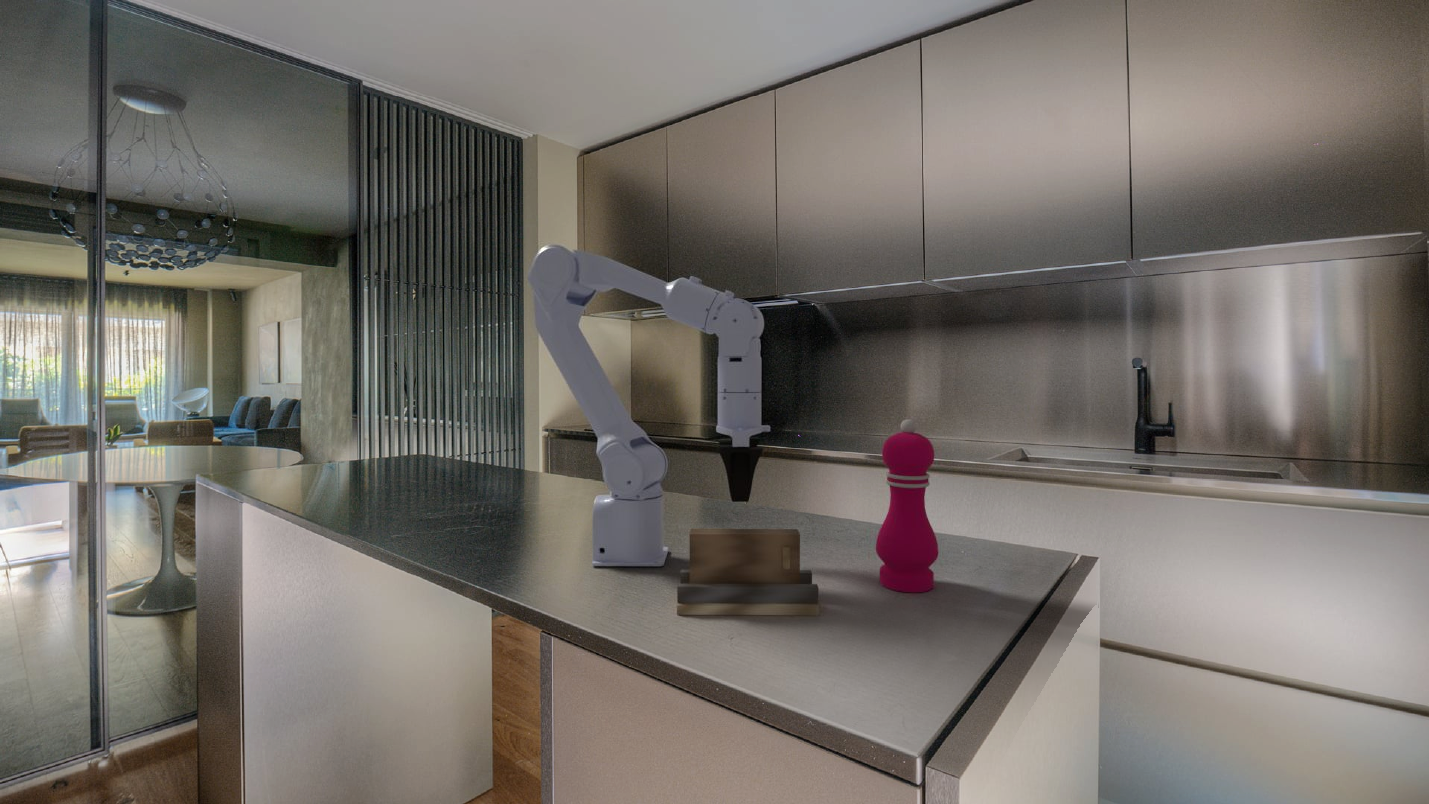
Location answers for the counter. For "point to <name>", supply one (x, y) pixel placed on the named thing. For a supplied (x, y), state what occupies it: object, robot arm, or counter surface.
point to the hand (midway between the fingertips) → (739, 495)
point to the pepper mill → (907, 514)
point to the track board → (747, 598)
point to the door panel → (744, 556)
